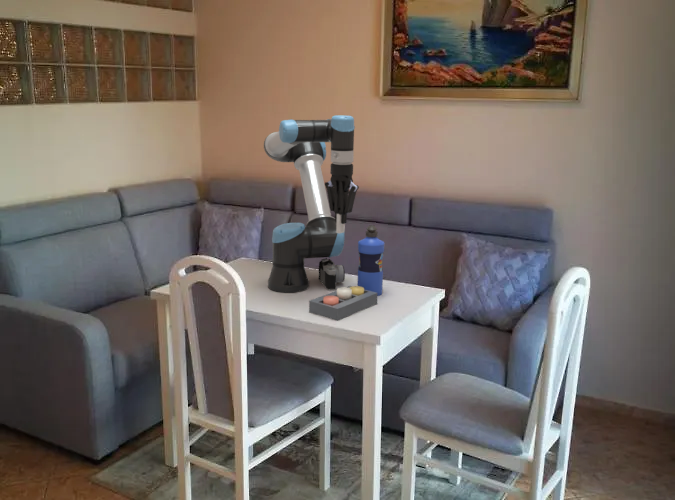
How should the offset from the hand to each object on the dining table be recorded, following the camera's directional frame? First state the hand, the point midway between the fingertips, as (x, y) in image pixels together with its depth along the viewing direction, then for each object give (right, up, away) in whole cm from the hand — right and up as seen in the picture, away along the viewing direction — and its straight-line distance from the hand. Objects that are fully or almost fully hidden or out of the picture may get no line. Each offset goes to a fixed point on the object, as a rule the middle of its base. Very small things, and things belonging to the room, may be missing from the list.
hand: (340, 232), depth 228 cm
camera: (-3, -19, +24) cm, 31 cm away
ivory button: (+1, -22, -2) cm, 23 cm away
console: (+1, -26, -1) cm, 26 cm away
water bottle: (+11, -22, +15) cm, 28 cm away
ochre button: (+6, -22, +3) cm, 23 cm away
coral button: (-3, -25, -7) cm, 26 cm away
